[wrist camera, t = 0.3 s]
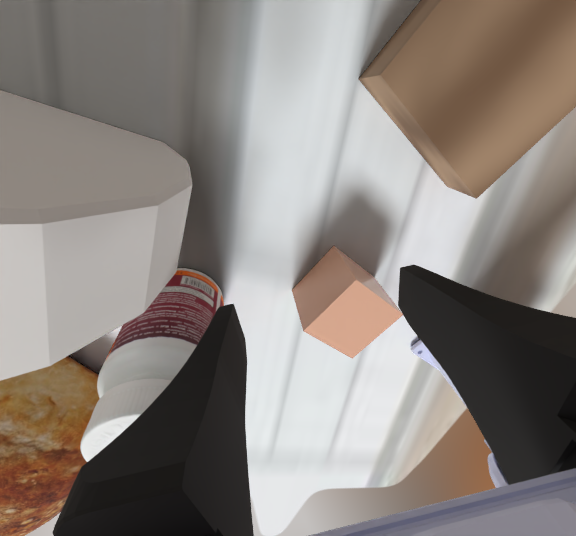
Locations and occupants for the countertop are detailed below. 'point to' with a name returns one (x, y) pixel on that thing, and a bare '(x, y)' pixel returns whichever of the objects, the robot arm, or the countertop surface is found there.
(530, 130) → the walnut base
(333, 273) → the terracotta block
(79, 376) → the bread
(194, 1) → the countertop surface
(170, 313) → the pill bottle
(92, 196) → the soap bottle
